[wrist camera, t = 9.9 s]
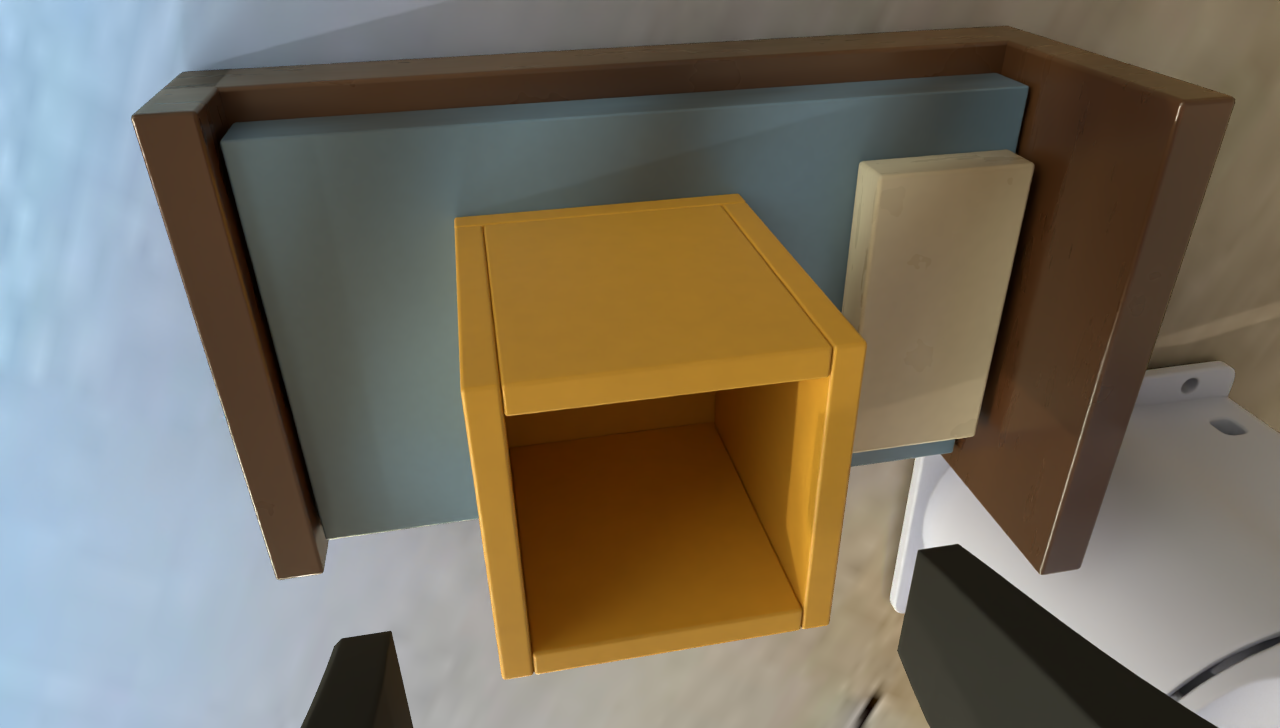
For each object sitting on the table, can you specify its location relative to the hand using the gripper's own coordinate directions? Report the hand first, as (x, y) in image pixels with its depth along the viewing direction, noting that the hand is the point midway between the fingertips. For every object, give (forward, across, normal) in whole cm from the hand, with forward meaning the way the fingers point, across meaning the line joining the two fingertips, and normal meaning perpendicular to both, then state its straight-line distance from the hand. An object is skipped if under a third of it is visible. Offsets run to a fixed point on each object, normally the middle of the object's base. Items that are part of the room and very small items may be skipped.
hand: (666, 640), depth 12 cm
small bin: (+7, 0, -1) cm, 7 cm away
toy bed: (+10, -1, -1) cm, 10 cm away
